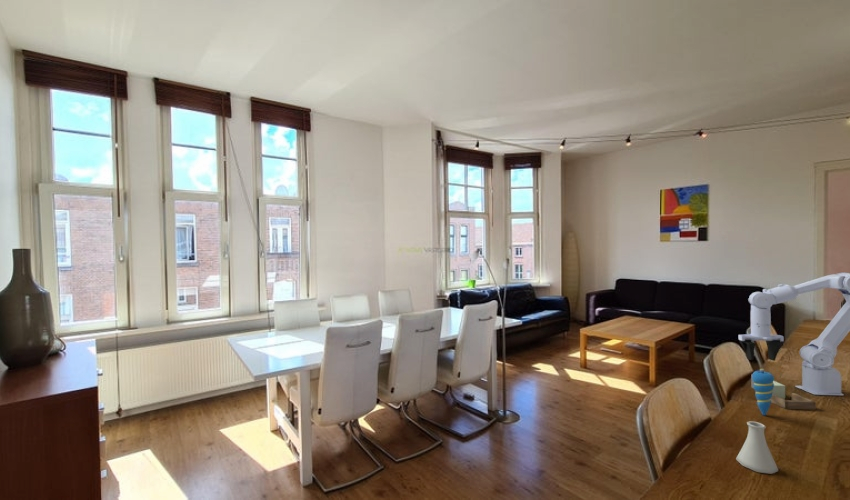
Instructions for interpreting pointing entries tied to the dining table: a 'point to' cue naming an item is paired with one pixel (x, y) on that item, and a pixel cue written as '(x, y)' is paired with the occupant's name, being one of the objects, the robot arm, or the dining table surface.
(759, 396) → the ornament
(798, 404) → the frame
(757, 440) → the flask
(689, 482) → the dining table surface
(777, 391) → the sage block
